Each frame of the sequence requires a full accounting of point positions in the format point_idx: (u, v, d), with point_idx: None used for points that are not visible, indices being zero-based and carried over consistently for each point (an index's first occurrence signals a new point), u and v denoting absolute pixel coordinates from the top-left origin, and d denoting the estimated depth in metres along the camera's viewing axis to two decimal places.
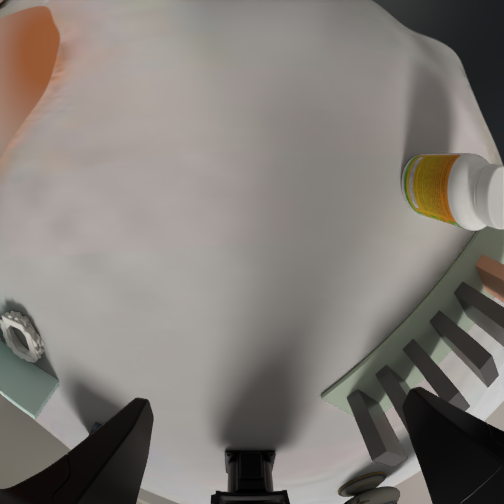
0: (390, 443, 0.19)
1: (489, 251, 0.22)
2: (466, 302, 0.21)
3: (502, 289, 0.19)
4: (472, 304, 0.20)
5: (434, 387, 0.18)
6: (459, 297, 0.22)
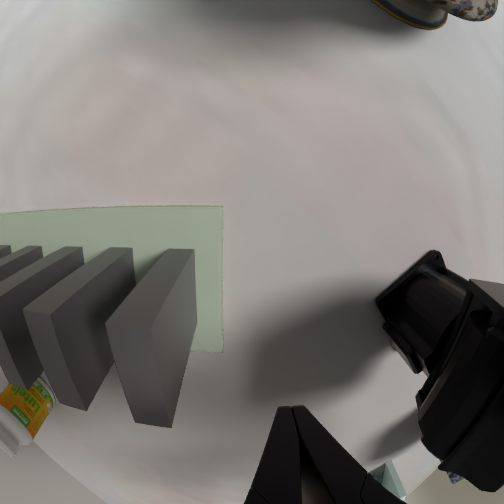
0: None
1: None
2: None
3: None
4: None
5: None
6: None
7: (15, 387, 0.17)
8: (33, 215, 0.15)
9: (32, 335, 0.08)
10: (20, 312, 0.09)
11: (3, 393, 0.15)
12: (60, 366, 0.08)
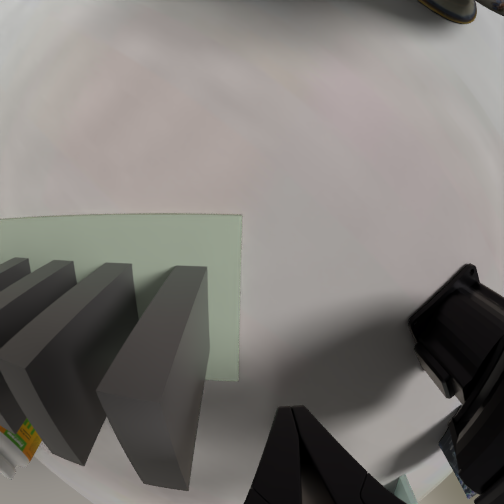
0: None
1: None
2: None
3: None
4: None
5: None
6: None
7: None
8: (18, 223, 0.13)
9: (9, 385, 0.05)
10: None
11: None
12: (47, 423, 0.05)
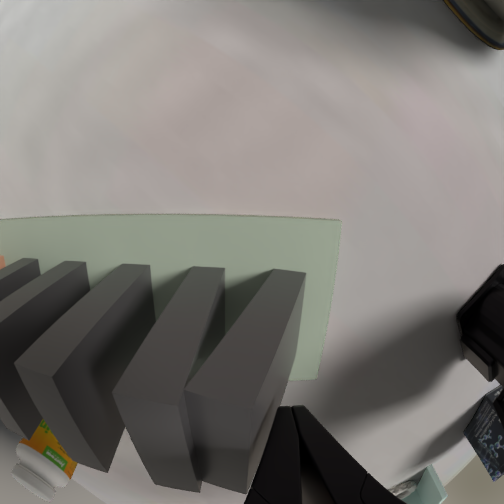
0: None
1: None
2: None
3: None
4: None
5: None
6: None
7: (45, 424, 0.14)
8: (74, 221, 0.13)
9: (127, 423, 0.05)
10: (91, 375, 0.07)
11: None
12: (176, 457, 0.06)
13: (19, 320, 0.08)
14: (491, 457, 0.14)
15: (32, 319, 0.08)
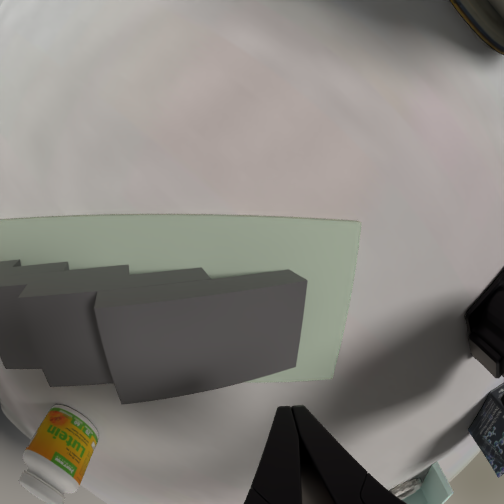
0: None
1: None
2: None
3: None
4: None
5: (36, 367, 0.11)
6: None
7: (52, 429, 0.14)
8: (86, 221, 0.13)
9: None
10: (6, 310, 0.09)
11: (38, 437, 0.13)
12: (34, 341, 0.09)
13: None
14: (496, 453, 0.14)
15: None
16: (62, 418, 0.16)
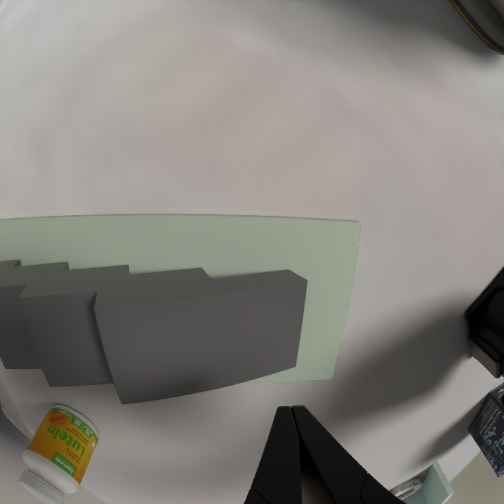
0: None
1: None
2: None
3: None
4: None
5: (36, 367, 0.11)
6: None
7: (52, 429, 0.14)
8: (86, 221, 0.13)
9: None
10: (6, 310, 0.09)
11: (38, 437, 0.13)
12: (34, 341, 0.09)
13: None
14: (496, 453, 0.14)
15: None
16: (62, 418, 0.16)
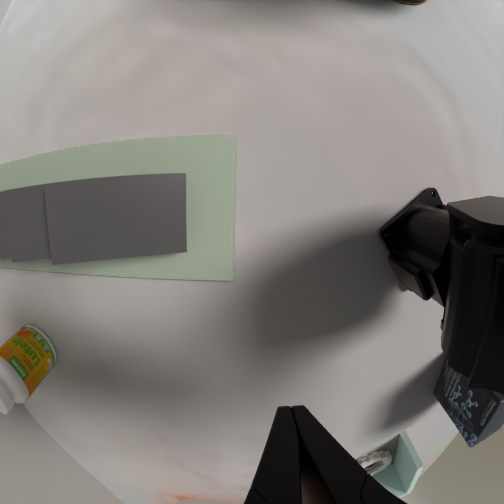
0: None
1: None
2: None
3: None
4: None
5: (7, 257, 0.15)
6: None
7: (16, 339, 0.18)
8: (56, 154, 0.16)
9: None
10: None
11: (3, 346, 0.17)
12: (8, 225, 0.13)
13: None
14: (464, 418, 0.18)
15: None
16: (26, 332, 0.19)
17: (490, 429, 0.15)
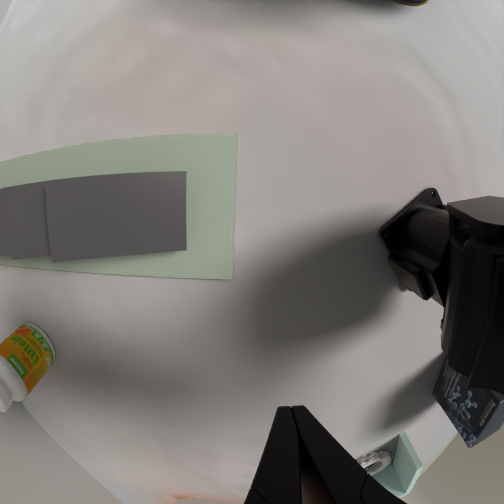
0: None
1: None
2: None
3: None
4: None
5: (6, 254, 0.14)
6: None
7: (15, 337, 0.18)
8: (57, 151, 0.16)
9: None
10: None
11: (2, 343, 0.16)
12: (8, 222, 0.13)
13: None
14: (463, 419, 0.18)
15: None
16: (25, 330, 0.19)
17: (489, 430, 0.15)
